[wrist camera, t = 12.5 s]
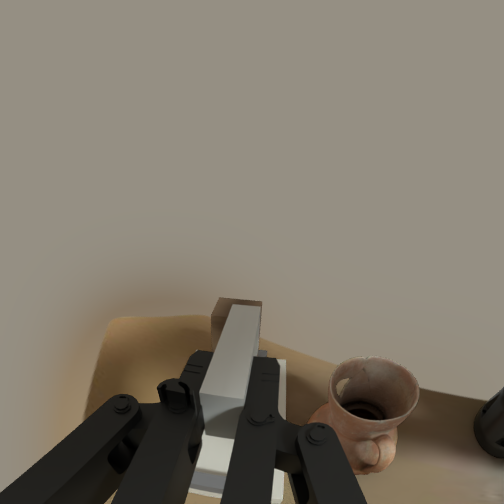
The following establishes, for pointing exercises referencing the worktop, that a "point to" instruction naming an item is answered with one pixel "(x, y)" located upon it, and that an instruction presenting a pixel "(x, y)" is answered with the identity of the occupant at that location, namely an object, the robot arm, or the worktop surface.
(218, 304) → the slider
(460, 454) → the worktop surface
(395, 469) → the worktop surface
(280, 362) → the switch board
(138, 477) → the robot arm
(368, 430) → the ceramic jug
